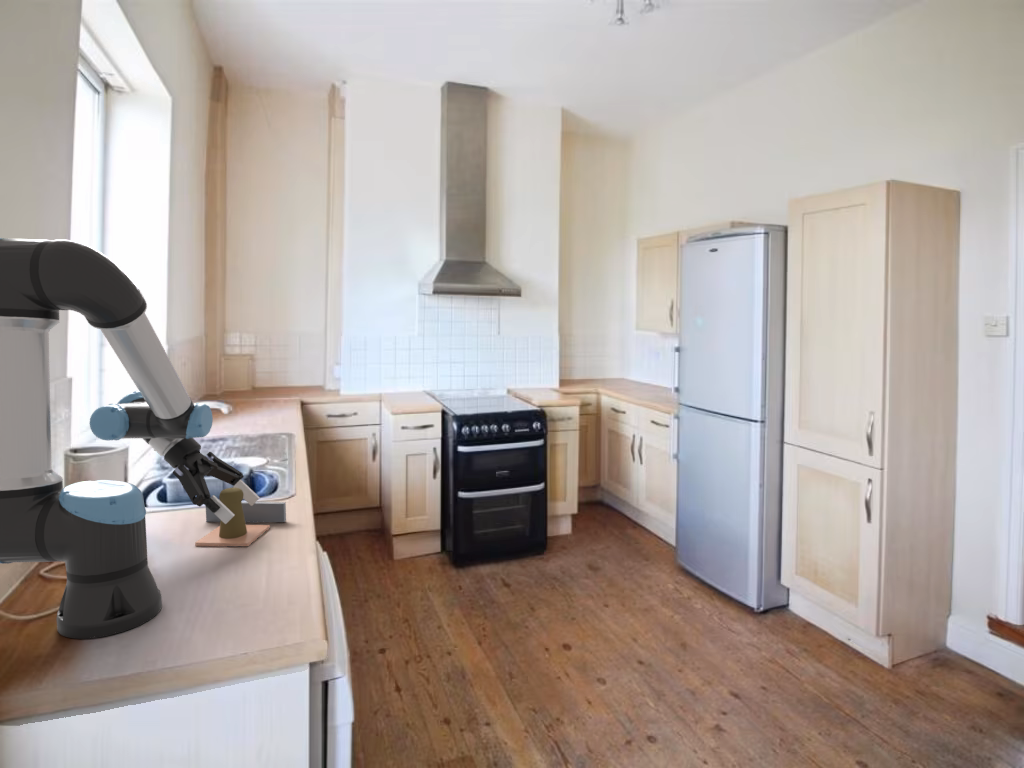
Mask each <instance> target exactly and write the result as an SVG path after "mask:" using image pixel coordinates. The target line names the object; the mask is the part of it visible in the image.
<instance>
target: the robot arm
mask: <svg viewBox="0 0 1024 768" xmlns="http://www.w3.org/2000/svg"><path fill="white" fill-rule="evenodd" d="M147 308H148V304H147V301H146V299H145V297H144V296H143V293H142V292H141V290H140V288H139V287H138V285H137V284H136V283H135V281H134V280H133V279H132V278H131V277H130V276H129V274H128V273H126V272H125V270H124V269H123V268H121V266H119V264H117V263H116V262H115V261H113V260H112V259H111V258H110V257H108V256H107V255H105V254H103V253H102V252H101V251H99V250H97V249H96V248H93V247H92V246H89V245H87V244H84V243H82V242H78V241H75V240H70V239H54V240H53V239H52V240H51V239H35V238H33V239H30V238H29V239H28V238H2V237H0V564H7V565H8V564H13V563H47V562H48V563H49V562H50V563H51V562H63V563H64V565H65V574H66V585H65V587H64V591H63V594H62V598H61V601H60V604H59V608H58V610H57V614H56V630H57V632H58V634H60V635H61V636H63V637H66V638H69V639H75V640H76V639H77V640H79V639H80V640H81V639H84V640H85V639H87V640H88V639H94V638H95V639H97V638H102V637H108V636H113V635H117V634H121V633H122V632H126V631H129V630H132V629H134V628H136V627H139V626H141V625H143V624H144V623H146V622H148V621H150V620H151V619H153V618H154V617H155V616H157V614H159V613H160V611H161V610H162V606H163V604H162V602H163V600H162V591H161V590H160V589H159V587H158V585H157V582H156V580H155V578H154V576H153V574H152V572H151V570H150V568H149V562H148V561H149V560H148V543H147V541H148V539H147V528H146V527H147V522H146V514H147V509H146V507H145V502H144V495H143V491H142V490H141V489H140V488H139V487H138V486H137V485H135V484H133V483H130V482H126V481H121V480H112V479H97V480H85V481H78V482H74V483H72V484H68V485H66V486H64V482H63V480H64V478H63V476H61V475H60V474H58V472H55V471H54V470H53V469H52V435H51V434H52V430H51V424H52V423H51V390H50V389H51V382H50V379H51V378H50V377H51V376H50V338H49V335H50V334H49V333H50V331H51V330H52V329H53V328H54V327H56V326H57V325H58V324H59V323H60V311H73V312H77V313H79V314H80V315H82V316H84V318H85V320H86V321H87V323H88V324H89V325H90V326H91V327H93V328H94V329H98V330H101V332H102V334H103V335H104V337H105V339H106V341H107V342H108V344H109V345H110V346H111V347H110V348H112V350H113V351H114V354H116V357H117V358H118V359H119V361H120V362H121V365H122V366H123V368H124V369H125V371H126V372H127V374H128V376H129V377H130V379H131V380H132V381H133V384H134V385H135V387H136V388H137V390H135V391H133V392H130V393H128V394H126V395H125V396H123V397H122V398H120V400H119V401H118V402H117V403H109V404H106V405H102V406H100V407H98V408H96V409H95V410H94V411H93V412H92V414H91V416H90V418H89V429H90V430H91V432H92V434H93V435H94V436H95V437H96V438H98V439H100V440H102V441H119V440H121V439H123V440H124V439H141V440H143V441H145V443H146V444H147V445H149V446H150V447H151V448H152V449H153V451H155V452H156V453H158V455H159V456H161V457H163V460H164V461H165V462H166V463H167V464H168V465H170V467H171V468H173V469H174V470H173V471H172V475H174V476H175V477H176V478H177V479H178V481H179V483H180V484H181V486H182V488H183V489H184V491H185V492H186V495H187V496H188V497H189V499H190V501H191V503H192V504H193V505H196V506H197V507H202V506H203V505H204V506H205V508H206V507H207V508H208V509H210V510H211V511H212V512H213V513H214V514H215V515H216V516H217V517H218V518H219V519H220V520H221V521H222V522H224V523H225V524H226V523H228V522H229V521H230V520H231V519H232V518H233V517H234V516H235V515H234V514H233V513H232V512H231V511H230V510H229V509H228V508H227V507H226V506H225V505H224V504H223V503H222V502H221V501H220V499H219V497H217V496H215V495H214V494H213V495H211V493H210V490H209V487H208V485H207V482H206V479H205V477H213V478H215V479H217V480H220V481H222V482H224V483H227V484H229V485H231V486H232V487H231V488H240V489H241V490H242V491H243V493H244V496H243V500H244V502H248V503H249V504H250V505H251V506H252V505H253V504H254V503H255V502H258V500H260V499H261V498H260V496H259V495H258V494H257V493H256V492H255V491H254V490H253V489H251V488H250V487H249V485H247V484H246V482H244V481H243V480H242V479H243V478H244V473H243V472H241V470H238V469H237V468H235V467H234V466H232V465H230V464H229V463H227V462H226V461H224V460H222V459H220V458H219V457H217V455H215V453H213V452H212V451H208V452H207V454H206V455H205V454H203V453H201V449H202V445H201V444H200V443H199V442H198V441H197V440H196V439H197V438H199V439H200V438H205V437H207V435H209V433H210V432H211V429H212V426H213V417H214V416H213V412H212V410H211V407H210V406H209V405H207V404H206V403H200V402H196V403H194V402H193V399H192V398H191V397H190V395H189V393H188V391H187V389H186V388H185V386H184V384H183V382H182V379H181V378H180V377H179V375H178V373H177V370H176V368H175V367H174V365H173V363H172V361H171V360H170V357H169V356H168V353H167V352H166V350H165V348H164V346H163V344H162V342H161V340H160V338H159V336H158V335H157V333H156V331H155V329H154V327H153V325H152V324H151V322H150V320H149V317H147V314H146V311H147Z"/></svg>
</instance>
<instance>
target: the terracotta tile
mask: <svg viewBox="0 0 1024 768" xmlns="http://www.w3.org/2000/svg"><path fill="white" fill-rule="evenodd" d="M269 528H271V525H270V524H246V529H247V533H246V534H245V535H243V536H241V537H237V538H231V539H225V538H220V537H219V531H220V525H219V526H217V527H216V528H214V529H213V530H212V531H210V532H209V533H207V534H206V535H204V536H203V537H201V538H200V539H198V540H197V541H195V543H194V544H195V545H194V546H195V547H227V546H248V547H250V545H252V544H253V543H254V542H255V541H257V540H258V539H259V538H260V537H261V536H262V535H264V534H265V533H266V532H267V531H269V530H270V529H269ZM266 530H267V531H266ZM265 531H266V532H265ZM264 532H265V533H264ZM263 533H264V534H263ZM261 534H262V535H261ZM260 535H261V536H260ZM259 536H260V537H259ZM258 537H259V538H258ZM257 538H258V539H257ZM253 541H254V542H253ZM252 542H253V543H252ZM251 543H252V544H251Z"/></svg>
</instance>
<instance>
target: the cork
mask: <svg viewBox="0 0 1024 768" xmlns="http://www.w3.org/2000/svg"><path fill="white" fill-rule="evenodd" d="M243 496H244V493H243V491H242V490H241V489H240V488H232V487H227V488H224V489H222V490H221V491H220V493H219V496H218V499H219V500H220V501H221V502H222V503H223V504H224V505H225V506H226V507H227V508H228V509H229V510H230V511H231V512H232V513H233V514H234V515H235V516H234V517H233V518H232V519H231V520H230V521H229V522H228V523H226V524H225V523H224V522H222V521H220V522H219V526H220V531H219V537H220V538H225V539H231V538H237V537H241V536H243V535H245V534H246V533H247V529H246V525H247V523H246V522H245V518H244V513H243V508H242V503H241V502H243V500H244V499H243Z"/></svg>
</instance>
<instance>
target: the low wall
mask: <svg viewBox="0 0 1024 768" xmlns="http://www.w3.org/2000/svg"><path fill="white" fill-rule="evenodd" d="M241 503H242V508H243V513H244V518H245V523H257V522H285V521H286V522H287V513H286V512H287V509H286V508H287V507H286V506H287V503H286V501H285V502H284V501H283V502H282V501H281V502H279V501H278V502H276V501H256V502H255V503H254V504H253V505H252V506H251V505H250V504H249V503H248V502H247V501H241ZM205 520H206V521H205V522H206V523H207V522H209V523H216V522H217V523H220V521H221V520H220V519H219V518H218V517H217V516H216V515H215V514H214V513H213V512H212V511H211V510H210V509H208V508H207V507H206V506H205ZM286 522H285V523H286Z"/></svg>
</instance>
